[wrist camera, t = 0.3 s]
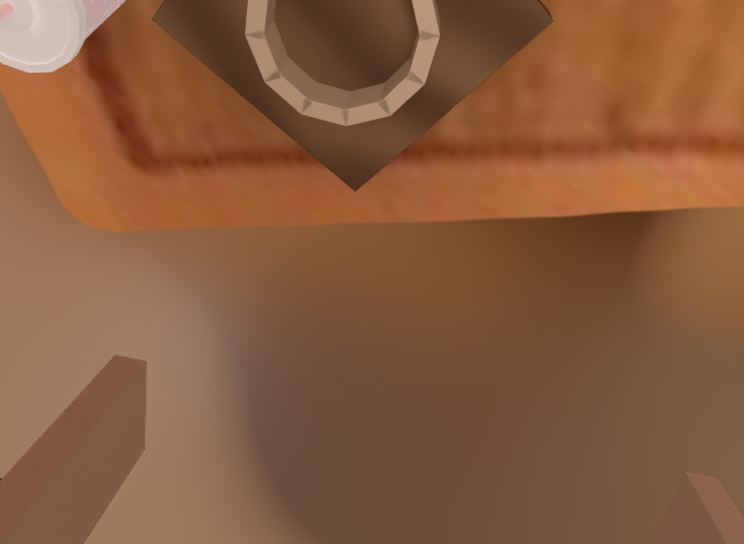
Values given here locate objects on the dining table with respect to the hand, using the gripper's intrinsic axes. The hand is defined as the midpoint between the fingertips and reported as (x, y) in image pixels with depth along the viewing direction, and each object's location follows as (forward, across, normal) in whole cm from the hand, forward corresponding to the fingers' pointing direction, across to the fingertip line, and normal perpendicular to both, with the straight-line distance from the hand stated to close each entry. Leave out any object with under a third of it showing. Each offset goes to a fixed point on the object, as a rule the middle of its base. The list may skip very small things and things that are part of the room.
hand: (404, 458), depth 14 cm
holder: (+25, -6, +9) cm, 27 cm away
